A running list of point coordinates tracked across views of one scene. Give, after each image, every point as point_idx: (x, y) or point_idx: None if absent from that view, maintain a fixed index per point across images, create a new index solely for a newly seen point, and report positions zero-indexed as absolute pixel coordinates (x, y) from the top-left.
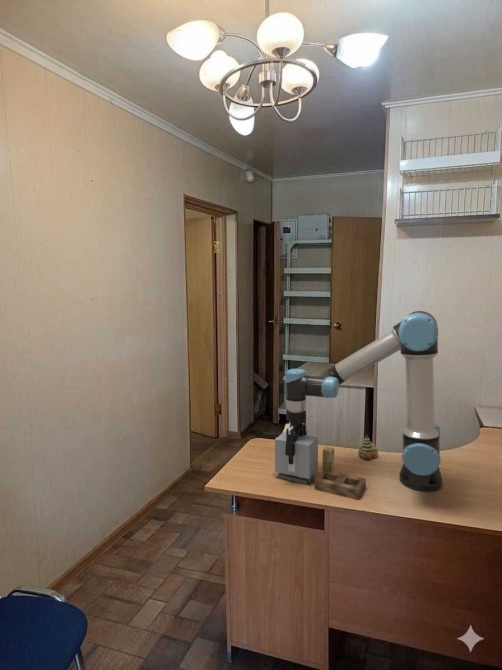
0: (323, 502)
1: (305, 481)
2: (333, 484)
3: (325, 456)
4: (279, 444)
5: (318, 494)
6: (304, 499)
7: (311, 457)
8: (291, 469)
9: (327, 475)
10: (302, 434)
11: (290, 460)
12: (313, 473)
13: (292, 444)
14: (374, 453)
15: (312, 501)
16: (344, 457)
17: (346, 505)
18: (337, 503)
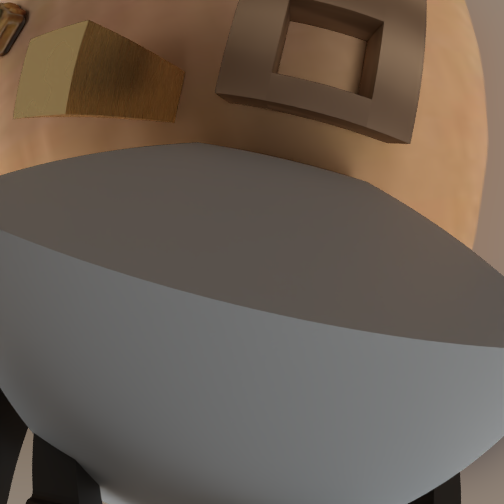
0: (482, 107)
1: None
2: (425, 33)
3: (111, 89)
4: None
5: (430, 123)
6: (477, 193)
7: (367, 200)
8: None
9: (274, 64)
10: (66, 482)
11: None
12: (288, 160)
13: (448, 500)
14: (7, 4)
15: (485, 156)
16: (12, 95)
17: (467, 20)
18: (470, 49)
